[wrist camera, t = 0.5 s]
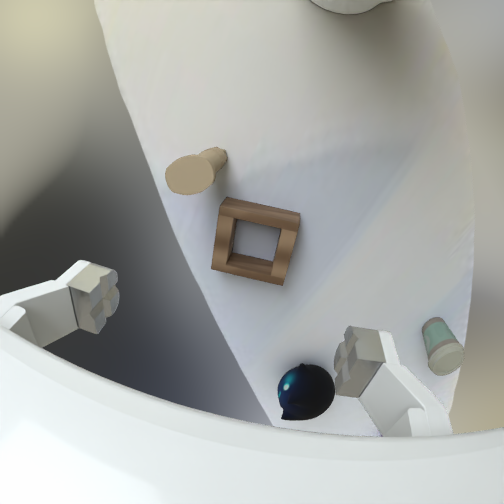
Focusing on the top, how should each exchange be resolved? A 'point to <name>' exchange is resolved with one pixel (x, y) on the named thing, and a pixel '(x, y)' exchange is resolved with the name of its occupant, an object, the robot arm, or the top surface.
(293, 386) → the figurine
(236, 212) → the frame
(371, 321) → the top surface
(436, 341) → the coffee cup
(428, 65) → the top surface
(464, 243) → the top surface
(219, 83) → the top surface
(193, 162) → the handle
